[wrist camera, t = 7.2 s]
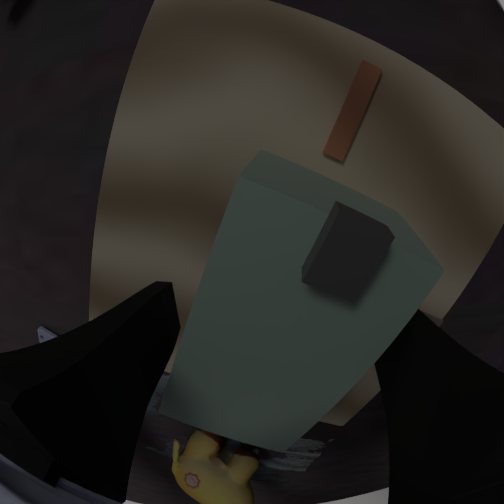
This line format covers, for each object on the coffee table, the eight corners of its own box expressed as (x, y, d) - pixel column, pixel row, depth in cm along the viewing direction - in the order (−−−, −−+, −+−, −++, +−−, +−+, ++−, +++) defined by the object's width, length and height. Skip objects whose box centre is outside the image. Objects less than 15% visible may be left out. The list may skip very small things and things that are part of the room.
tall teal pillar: (402, 204, 10) (462, 273, 5) (289, 380, 14) (281, 465, 10) (264, 140, 9) (238, 167, 5) (188, 343, 14) (153, 424, 9)
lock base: (341, 409, 20) (343, 447, 17) (99, 321, 19) (75, 352, 16) (516, 151, 11) (556, 166, 8) (176, -9, 10) (144, -33, 7)
